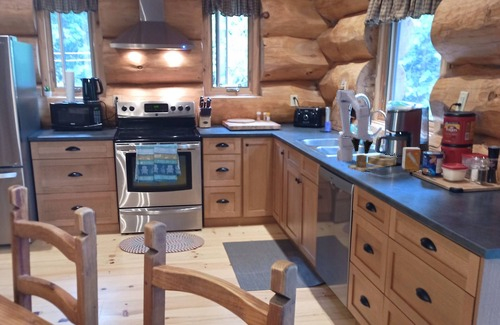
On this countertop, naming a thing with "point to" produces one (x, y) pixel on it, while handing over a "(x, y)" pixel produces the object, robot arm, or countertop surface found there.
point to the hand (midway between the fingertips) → (361, 152)
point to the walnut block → (361, 161)
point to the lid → (388, 156)
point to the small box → (411, 159)
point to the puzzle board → (375, 163)
